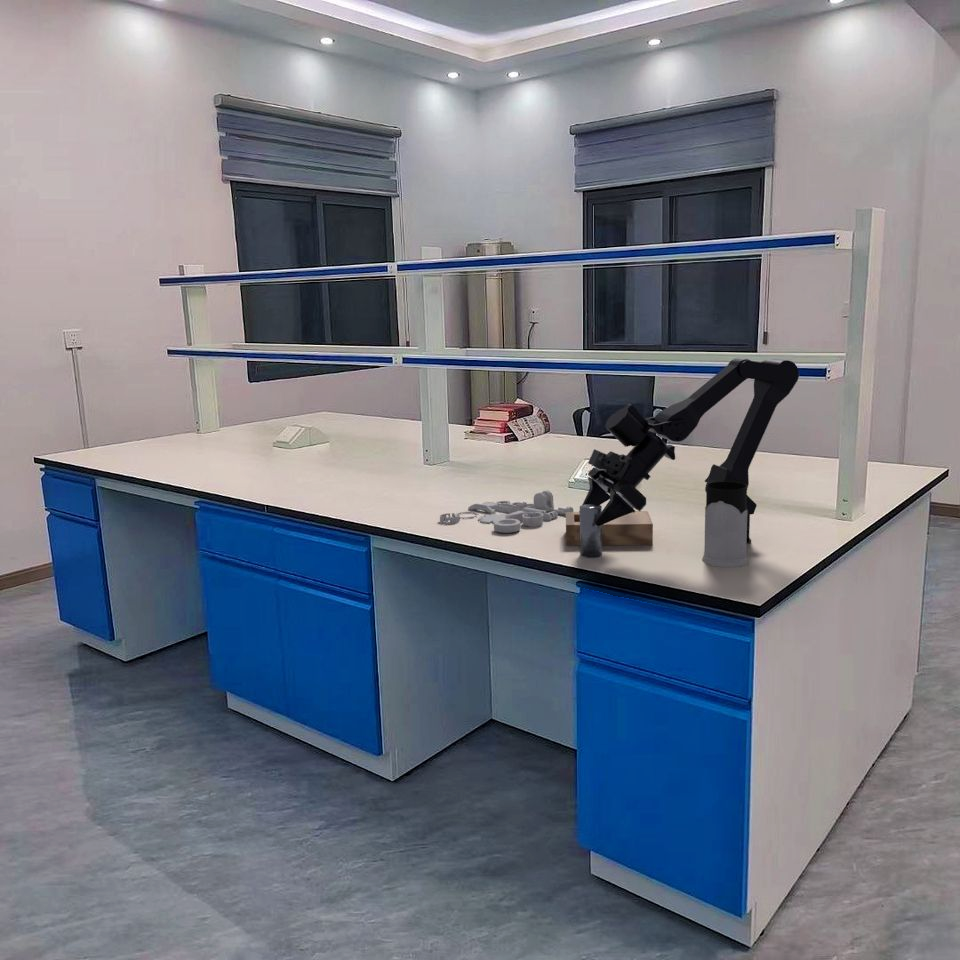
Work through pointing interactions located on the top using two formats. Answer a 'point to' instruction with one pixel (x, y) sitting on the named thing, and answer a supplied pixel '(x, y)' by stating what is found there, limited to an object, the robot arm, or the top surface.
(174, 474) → the top surface
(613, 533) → the wooden block with hole
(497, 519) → the robot parts
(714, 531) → the glass holder
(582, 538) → the axle
